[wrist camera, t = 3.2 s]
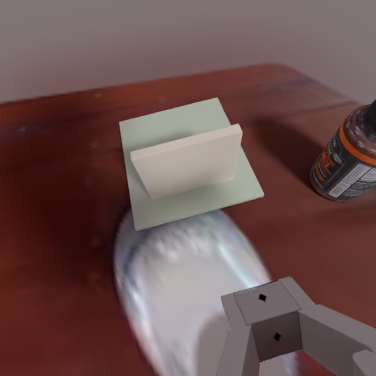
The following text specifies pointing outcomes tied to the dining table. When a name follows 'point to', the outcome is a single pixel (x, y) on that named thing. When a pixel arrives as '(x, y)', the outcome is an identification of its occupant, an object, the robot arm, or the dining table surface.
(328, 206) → the dining table surface
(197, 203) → the mat
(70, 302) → the dining table surface
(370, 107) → the supplement bottle
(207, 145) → the tile
